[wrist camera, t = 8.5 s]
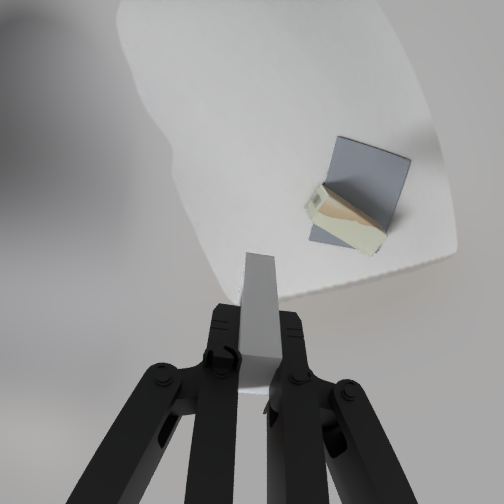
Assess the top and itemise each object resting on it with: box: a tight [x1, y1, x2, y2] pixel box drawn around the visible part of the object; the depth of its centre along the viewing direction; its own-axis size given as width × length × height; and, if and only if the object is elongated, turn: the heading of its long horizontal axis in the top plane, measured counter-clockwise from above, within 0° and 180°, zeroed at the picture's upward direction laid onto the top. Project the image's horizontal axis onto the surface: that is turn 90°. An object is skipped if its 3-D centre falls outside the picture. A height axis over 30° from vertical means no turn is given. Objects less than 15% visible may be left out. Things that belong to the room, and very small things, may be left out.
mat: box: [309, 136, 410, 253], centre depth 38 cm, size 16×12×1 cm
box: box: [305, 184, 388, 257], centre depth 37 cm, size 5×4×11 cm
